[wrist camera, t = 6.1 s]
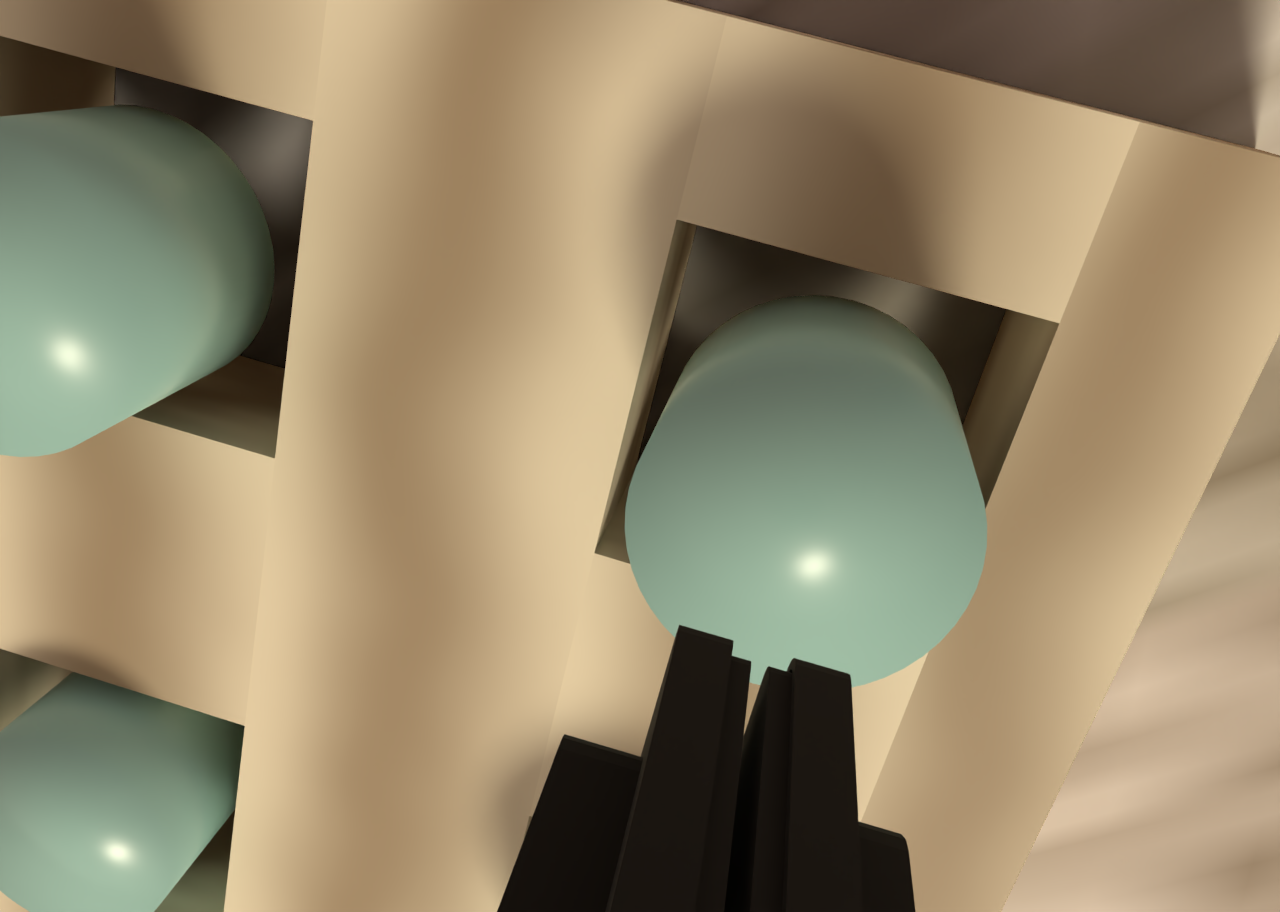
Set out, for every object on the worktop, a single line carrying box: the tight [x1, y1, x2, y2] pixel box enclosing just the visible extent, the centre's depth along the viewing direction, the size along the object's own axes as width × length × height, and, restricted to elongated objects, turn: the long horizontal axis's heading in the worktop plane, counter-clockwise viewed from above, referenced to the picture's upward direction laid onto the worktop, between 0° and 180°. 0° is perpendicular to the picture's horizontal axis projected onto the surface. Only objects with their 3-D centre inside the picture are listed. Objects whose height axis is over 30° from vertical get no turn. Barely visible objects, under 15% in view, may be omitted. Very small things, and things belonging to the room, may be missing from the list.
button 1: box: [0, 105, 275, 457], centre depth 18 cm, size 5×5×4 cm
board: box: [0, 0, 1280, 912], centre depth 23 cm, size 24×24×4 cm
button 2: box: [0, 672, 245, 912], centre depth 24 cm, size 5×5×4 cm
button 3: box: [625, 295, 987, 687], centre depth 17 cm, size 5×5×4 cm
